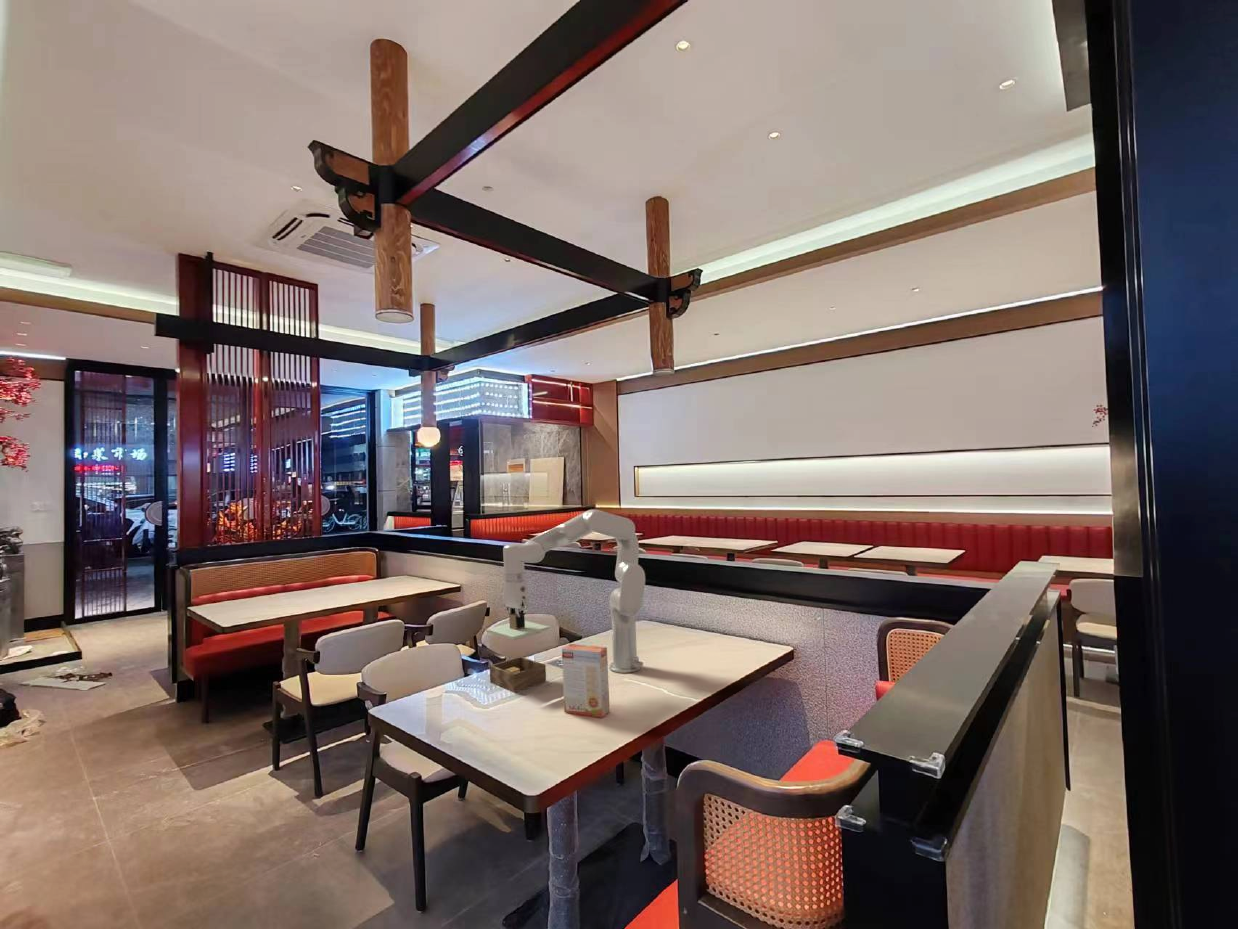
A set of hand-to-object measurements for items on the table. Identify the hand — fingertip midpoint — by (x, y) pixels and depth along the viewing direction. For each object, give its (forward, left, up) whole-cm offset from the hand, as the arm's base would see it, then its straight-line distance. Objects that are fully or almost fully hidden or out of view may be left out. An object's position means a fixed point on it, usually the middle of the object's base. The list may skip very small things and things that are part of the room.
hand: (517, 625), depth 208 cm
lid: (0, 0, -2) cm, 2 cm away
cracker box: (-39, 0, -22) cm, 45 cm away
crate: (0, 0, -22) cm, 22 cm away
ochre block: (+4, 0, -21) cm, 21 cm away
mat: (0, -19, -22) cm, 29 cm away
